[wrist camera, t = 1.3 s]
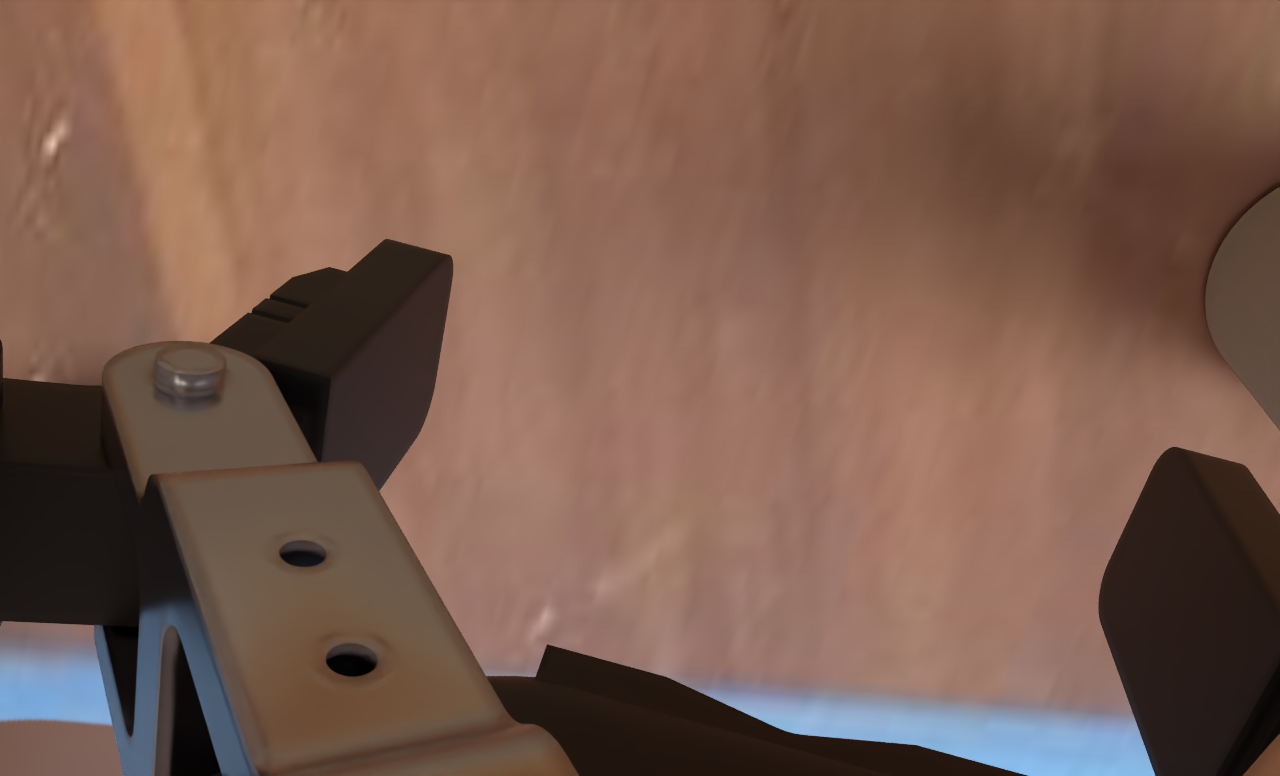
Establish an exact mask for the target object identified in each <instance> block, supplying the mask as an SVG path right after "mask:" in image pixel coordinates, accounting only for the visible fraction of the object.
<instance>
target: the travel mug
mask: <svg viewBox="0 0 1280 776" xmlns="http://www.w3.org/2000/svg"><path fill="white" fill-rule="evenodd" d="M1205 310H1206V319H1207V323H1208V327H1209V331H1210V334H1211V336H1212V339H1213V341H1214V343H1215V345H1216V347H1217V349H1218V351H1219V352H1220V354H1221V355H1222V357H1223V358H1224V360H1225V361H1226V362H1227V364H1228V365H1229V366H1230V367H1231V369H1232V370H1233V371H1234V373H1235V374H1236V375H1237V376H1238V378H1239V379H1240V380H1241V381H1242V383H1243V384H1244V385H1245V387H1246V388H1247V389H1248V390H1249V392H1250V393H1251V394H1252V396H1253V397H1254V398H1255V399H1256V401H1257V402H1258V403H1259V405H1260V406H1261V407H1262V408H1263V410H1264V411H1265V412H1266V414H1267V415H1268V416H1269V417H1270V419H1271V420H1272V421H1273V423H1274V424H1275V425H1276V426H1277V428H1278V429H1279V430H1280V187H1279V188H1277V189H1275V190H1274V191H1272V192H1271V193H1269V194H1268V195H1266V196H1265V197H1264V198H1262V199H1261V200H1260V201H1258V202H1257V203H1256V204H1255V205H1254V206H1253V207H1251V208H1250V209H1249V210H1248V211H1247V212H1246V213H1245V214H1244V215H1243V216H1242V217H1241V218H1240V219H1239V221H1238V222H1237V223H1236V224H1235V225H1234V227H1233V228H1232V229H1231V231H1230V232H1229V233H1228V235H1227V236H1226V238H1225V239H1224V241H1223V243H1222V244H1221V246H1220V248H1219V250H1218V252H1217V254H1216V256H1215V259H1214V261H1213V263H1212V266H1211V269H1210V272H1209V276H1208V281H1207V285H1206V295H1205Z"/></svg>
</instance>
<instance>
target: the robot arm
mask: <svg viewBox="0 0 1280 776" xmlns="http://www.w3.org/2000/svg"><path fill="white" fill-rule="evenodd" d="M452 277H453V260H452V257H451V256H450V255H447V254H443V253H439V252H436V251H432V250H428V249H424V248H420V247H417V246H413V245H409V244H405V243H401V242H397V241H394V240H390V239H385V240H384V241H382V242H381V243H380V244H379V245H378V246H377V247H375V248H374V249H373V250H372V251H371V252H370V253H369V254H367V255H366V256H365V257H364V258H363V259H362V260H360V261H359V262H358V263H357V264H356V265H355V266H354V267H352V268H351V269H350V270H349V271H348V272H346V271H342V270H338V269H335V268H331V267H328V268H325V269H321V270H317V271H314V272H310V273H307V274H303V275H299V276H296V277H292V278H291V279H290V280H289V281H287V282H286V283H285V284H283V285H282V286H281V287H280V288H278V289H277V290H276V291H275V292H273V293H272V294H271V295H270V299H267V298H266V299H265V300H263V301H262V302H261V303H260V304H258V305H257V306H256V307H254V308H253V310H252V313H247V314H246V315H244V316H243V317H242V318H241V319H239V320H238V321H237V322H236V323H234V324H233V325H232V326H230V327H229V328H228V329H227V330H225V331H224V332H223V333H222V334H220V335H219V336H218V337H217V338H215V339H214V340H213V341H212V342H210V343H203V342H192V341H167V342H156V343H149V344H144V345H140V346H136V347H133V348H130V349H127V350H124V351H123V352H121V353H119V354H117V355H115V356H114V357H113V358H111V359H110V360H109V361H108V362H107V363H106V365H105V366H104V369H103V372H102V386H86V385H71V384H60V383H50V382H39V381H29V380H18V379H8V378H3V347H2V342H1V340H0V626H1V623H2V621H15V622H37V623H60V624H82V625H94V638H95V646H96V650H97V655H98V660H99V664H100V669H101V673H102V678H103V683H104V687H105V692H106V697H107V701H108V706H109V710H110V715H111V720H112V724H113V729H114V733H115V738H116V742H117V747H118V752H119V757H120V761H121V766H122V770H123V775H124V776H1027V775H1023V774H1019V773H1016V772H1012V771H1008V770H1005V769H1001V768H997V767H994V766H990V765H986V764H983V763H979V762H975V761H972V760H968V759H964V758H961V757H957V756H954V755H950V754H946V753H943V752H939V751H935V750H932V749H928V748H924V747H921V746H917V745H908V744H897V743H886V742H875V741H864V740H853V739H842V738H830V737H819V736H808V735H800V734H794V733H790V732H786V731H783V730H781V729H778V728H776V727H774V726H772V725H769V724H767V723H765V722H763V721H761V720H759V719H756V718H754V717H752V716H750V715H748V714H746V713H743V712H741V711H739V710H737V709H735V708H733V707H730V706H728V705H726V704H724V703H722V702H719V701H717V700H715V699H713V698H711V697H709V696H706V695H704V694H702V693H700V692H698V691H696V690H693V689H691V688H689V687H687V686H685V685H683V684H680V683H678V682H676V681H674V680H672V679H670V678H667V677H664V676H661V675H657V674H653V673H650V672H646V671H642V670H639V669H635V668H631V667H628V666H624V665H620V664H617V663H613V662H610V661H606V660H602V659H599V658H595V657H591V656H588V655H584V654H580V653H577V652H573V651H569V650H566V649H562V648H558V647H555V646H551V645H547V646H546V649H545V652H544V655H543V658H542V661H541V663H540V666H539V669H538V672H537V675H536V677H521V676H486V675H485V674H484V672H483V670H482V668H481V667H480V665H479V663H478V662H477V660H476V658H475V656H474V655H473V653H472V651H471V649H470V648H469V646H468V644H467V643H466V641H465V639H464V637H463V636H462V634H461V632H460V630H459V629H458V627H457V625H456V624H455V622H454V620H453V618H452V617H451V615H450V613H449V611H448V610H447V608H446V606H445V605H444V603H443V601H442V599H441V598H440V596H439V594H438V593H437V591H436V589H435V587H434V586H433V584H432V582H431V580H430V579H429V577H428V575H427V574H426V572H425V570H424V568H423V567H422V565H421V563H420V561H419V560H418V558H417V556H416V555H415V553H414V551H413V549H412V548H411V546H410V544H409V542H408V541H407V539H406V537H405V536H404V534H403V532H402V530H401V529H400V527H399V525H398V523H397V522H396V520H395V518H394V517H393V515H392V513H391V511H390V510H389V508H388V506H387V505H386V503H385V501H384V499H383V498H382V496H381V494H380V492H379V491H380V489H381V488H382V486H383V485H384V484H385V482H386V481H387V479H388V478H389V476H390V475H391V474H392V472H393V471H394V469H395V468H396V466H397V465H398V464H399V462H400V461H401V459H402V458H403V456H404V455H405V454H406V452H407V451H408V449H409V448H410V446H411V445H412V444H413V442H414V441H415V439H416V438H417V436H418V435H419V433H420V431H421V429H422V426H423V424H424V422H425V419H426V416H427V413H428V411H429V407H430V404H431V400H432V396H433V392H434V388H435V382H436V376H437V370H438V364H439V358H440V352H441V346H442V340H443V334H444V328H445V321H446V315H447V309H448V303H449V297H450V291H451V285H452ZM1099 618H1100V622H1101V625H1102V628H1103V631H1104V634H1105V637H1106V639H1107V642H1108V645H1109V648H1110V650H1111V653H1112V656H1113V659H1114V662H1115V664H1116V667H1117V670H1118V673H1119V675H1120V678H1121V681H1122V684H1123V687H1124V689H1125V692H1126V695H1127V698H1128V700H1129V703H1130V706H1131V709H1132V712H1133V714H1134V717H1135V720H1136V723H1137V726H1138V728H1139V731H1140V734H1141V737H1142V739H1143V742H1144V745H1145V748H1146V751H1147V753H1148V756H1149V759H1150V762H1151V764H1152V767H1153V770H1154V773H1155V776H1280V514H1279V513H1278V511H1277V510H1276V509H1275V507H1274V506H1273V504H1272V503H1271V501H1270V500H1269V498H1268V497H1267V495H1266V494H1265V493H1264V491H1263V490H1262V488H1261V487H1260V485H1259V484H1258V482H1257V481H1256V480H1255V478H1254V477H1253V475H1252V474H1251V472H1250V471H1249V469H1248V468H1247V467H1246V466H1244V465H1242V464H1239V463H1235V462H1232V461H1228V460H1224V459H1220V458H1216V457H1213V456H1209V455H1205V454H1201V453H1197V452H1193V451H1190V450H1186V449H1182V448H1178V447H1172V448H1169V449H1168V450H1166V451H1165V452H1164V453H1163V454H1162V455H1161V456H1160V457H1159V459H1158V460H1157V462H1156V463H1155V465H1154V467H1153V469H1152V471H1151V473H1150V475H1149V477H1148V479H1147V481H1146V484H1145V486H1144V488H1143V490H1142V492H1141V494H1140V496H1139V498H1138V501H1137V503H1136V505H1135V507H1134V509H1133V511H1132V513H1131V516H1130V518H1129V520H1128V522H1127V524H1126V526H1125V528H1124V531H1123V533H1122V535H1121V537H1120V539H1119V541H1118V543H1117V545H1116V548H1115V550H1114V552H1113V554H1112V556H1111V558H1110V560H1109V563H1108V565H1107V567H1106V570H1105V573H1104V576H1103V579H1102V583H1101V588H1100V594H1099Z"/></svg>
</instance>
